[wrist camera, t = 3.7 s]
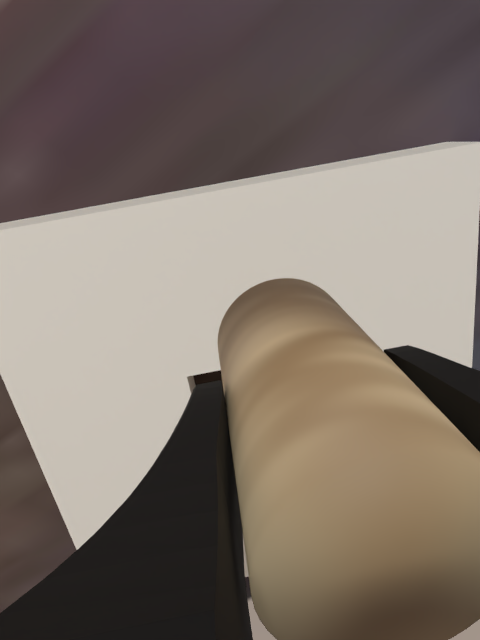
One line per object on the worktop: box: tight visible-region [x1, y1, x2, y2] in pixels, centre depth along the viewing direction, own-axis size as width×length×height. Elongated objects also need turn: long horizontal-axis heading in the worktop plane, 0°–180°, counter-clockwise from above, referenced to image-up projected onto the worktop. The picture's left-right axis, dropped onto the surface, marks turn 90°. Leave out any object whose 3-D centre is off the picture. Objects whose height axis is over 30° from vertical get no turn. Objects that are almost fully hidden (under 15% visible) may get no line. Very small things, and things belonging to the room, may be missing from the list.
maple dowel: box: [218, 278, 480, 640], centre depth 10 cm, size 4×4×8 cm
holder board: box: [0, 142, 480, 577], centre depth 21 cm, size 20×20×2 cm
